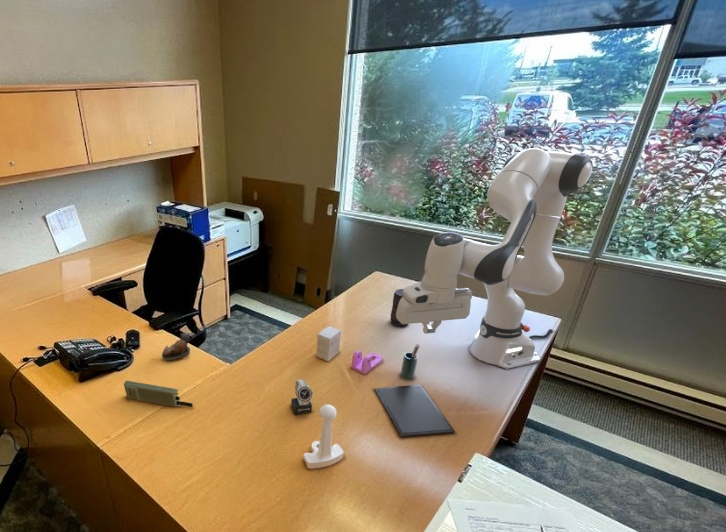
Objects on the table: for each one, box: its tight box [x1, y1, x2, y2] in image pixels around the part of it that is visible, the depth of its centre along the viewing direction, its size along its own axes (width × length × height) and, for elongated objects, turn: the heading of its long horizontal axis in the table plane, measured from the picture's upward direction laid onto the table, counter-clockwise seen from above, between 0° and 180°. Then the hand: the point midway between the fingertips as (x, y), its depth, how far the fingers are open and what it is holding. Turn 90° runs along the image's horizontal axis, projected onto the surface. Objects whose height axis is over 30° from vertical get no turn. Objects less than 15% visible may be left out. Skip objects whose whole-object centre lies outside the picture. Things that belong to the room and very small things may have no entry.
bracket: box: [350, 350, 383, 375], centre depth 154 cm, size 13×6×7 cm, turn 129°
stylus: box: [410, 343, 421, 359], centre depth 143 cm, size 1×1×15 cm
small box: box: [315, 325, 342, 362], centre depth 160 cm, size 8×6×10 cm
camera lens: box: [390, 288, 409, 328], centre depth 175 cm, size 8×8×15 cm
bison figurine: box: [161, 332, 191, 361], centre depth 165 cm, size 12×7×10 cm, turn 106°
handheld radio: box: [123, 380, 193, 408], centre depth 143 cm, size 7×3×25 cm
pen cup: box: [400, 351, 419, 380], centre depth 146 cm, size 4×4×9 cm
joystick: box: [302, 404, 345, 469], centre depth 114 cm, size 11×8×20 cm
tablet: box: [374, 384, 455, 438], centre depth 133 cm, size 16×22×1 cm
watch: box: [290, 379, 314, 415], centre depth 134 cm, size 6×8×11 cm
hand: (428, 332), depth 124 cm, fingers closed
